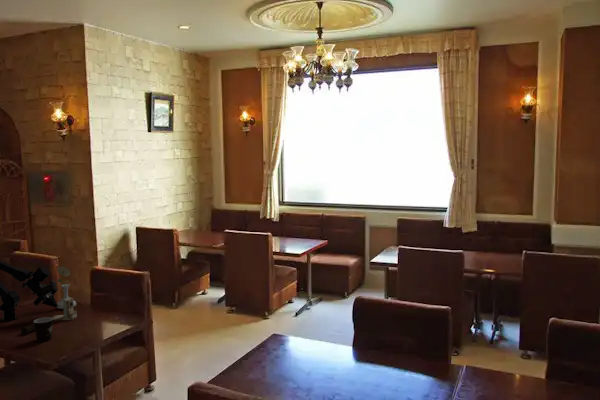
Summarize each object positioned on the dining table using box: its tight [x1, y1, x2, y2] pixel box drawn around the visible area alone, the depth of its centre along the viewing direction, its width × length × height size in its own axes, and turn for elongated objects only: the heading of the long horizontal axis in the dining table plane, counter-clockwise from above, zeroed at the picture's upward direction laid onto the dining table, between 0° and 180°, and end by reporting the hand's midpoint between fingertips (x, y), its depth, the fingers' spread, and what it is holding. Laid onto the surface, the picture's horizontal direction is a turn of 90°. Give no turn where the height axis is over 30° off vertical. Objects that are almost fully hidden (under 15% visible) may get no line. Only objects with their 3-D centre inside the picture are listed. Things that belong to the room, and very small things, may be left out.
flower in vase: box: [56, 266, 77, 310], centre depth 301 cm, size 13×11×25 cm
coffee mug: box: [33, 316, 55, 343], centre depth 249 cm, size 12×9×10 cm
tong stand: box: [51, 297, 78, 321], centre depth 281 cm, size 12×6×11 cm, turn 93°
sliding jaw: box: [63, 296, 71, 318], centre depth 281 cm, size 2×6×10 cm, turn 3°
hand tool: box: [20, 316, 52, 336], centre depth 264 cm, size 19×4×5 cm, turn 161°
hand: (57, 306), depth 280 cm, fingers closed
